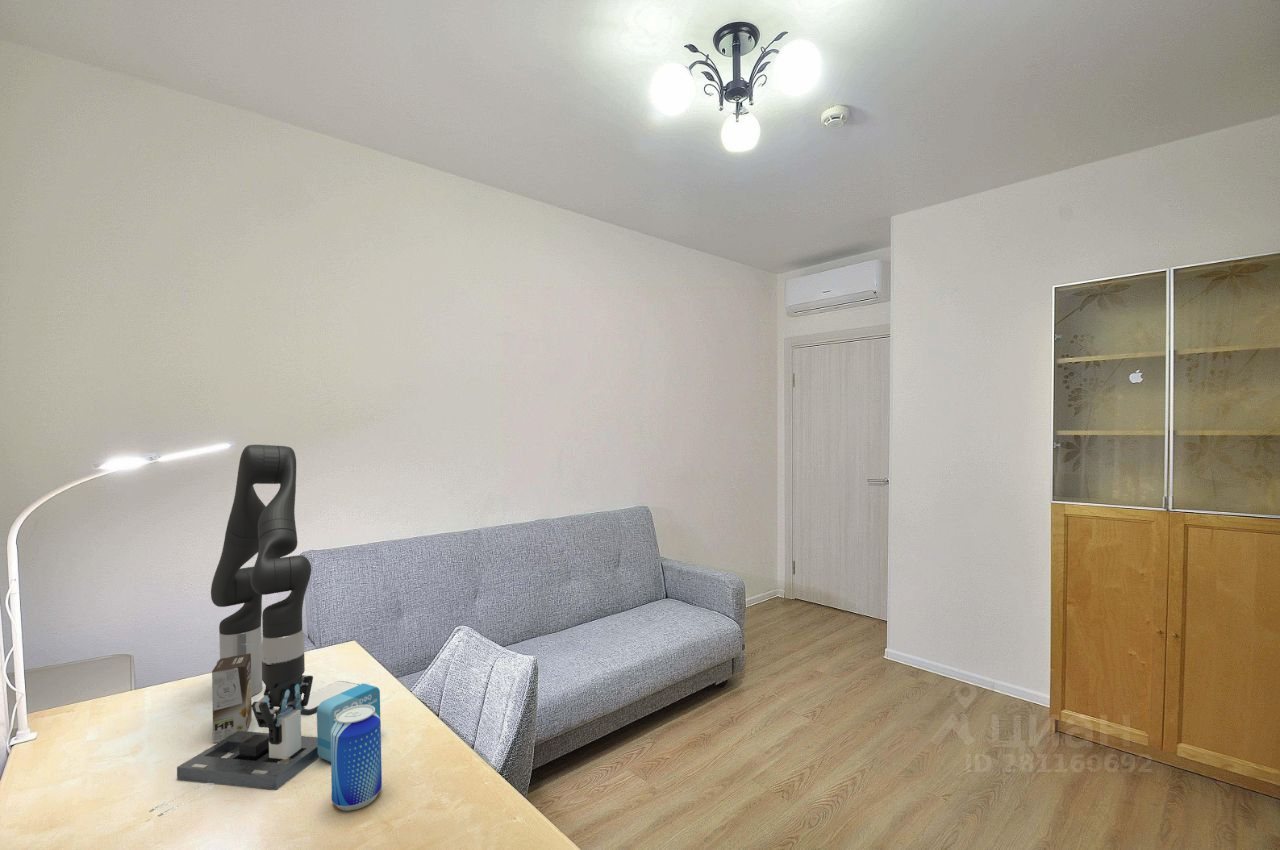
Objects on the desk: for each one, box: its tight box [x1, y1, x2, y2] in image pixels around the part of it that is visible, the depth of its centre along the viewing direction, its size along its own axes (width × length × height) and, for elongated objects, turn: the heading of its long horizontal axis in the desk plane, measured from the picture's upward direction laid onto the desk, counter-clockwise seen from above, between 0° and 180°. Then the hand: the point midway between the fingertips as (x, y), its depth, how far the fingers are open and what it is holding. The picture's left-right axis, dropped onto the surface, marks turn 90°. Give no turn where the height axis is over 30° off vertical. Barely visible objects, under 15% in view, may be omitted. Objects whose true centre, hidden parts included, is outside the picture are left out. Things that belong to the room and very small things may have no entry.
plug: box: [269, 707, 302, 760], centre depth 118 cm, size 4×4×9 cm
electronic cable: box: [148, 783, 215, 817], centre depth 108 cm, size 4×10×1 cm, turn 154°
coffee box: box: [211, 654, 253, 744], centre depth 133 cm, size 9×6×16 cm
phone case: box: [301, 680, 361, 716], centre depth 148 cm, size 9×2×16 cm
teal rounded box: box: [316, 683, 381, 763], centre depth 124 cm, size 12×4×12 cm, turn 152°
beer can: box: [330, 705, 383, 812], centre depth 107 cm, size 8×8×16 cm
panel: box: [176, 730, 320, 791], centre depth 119 cm, size 23×14×5 cm, turn 80°
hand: (284, 737), depth 118 cm, fingers closed on plug, 4 cm apart
